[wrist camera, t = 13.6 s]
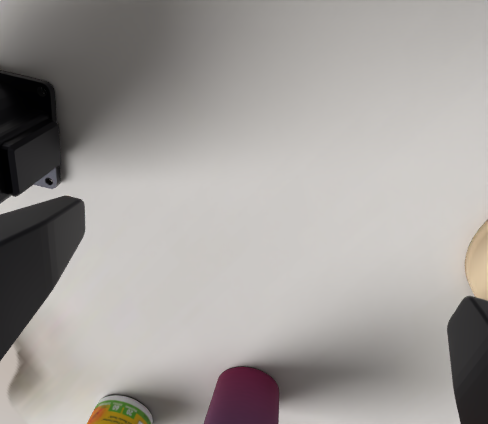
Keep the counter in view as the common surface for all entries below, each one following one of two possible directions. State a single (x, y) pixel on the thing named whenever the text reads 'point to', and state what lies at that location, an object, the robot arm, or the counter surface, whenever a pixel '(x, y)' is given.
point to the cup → (244, 398)
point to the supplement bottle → (120, 411)
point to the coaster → (478, 263)
